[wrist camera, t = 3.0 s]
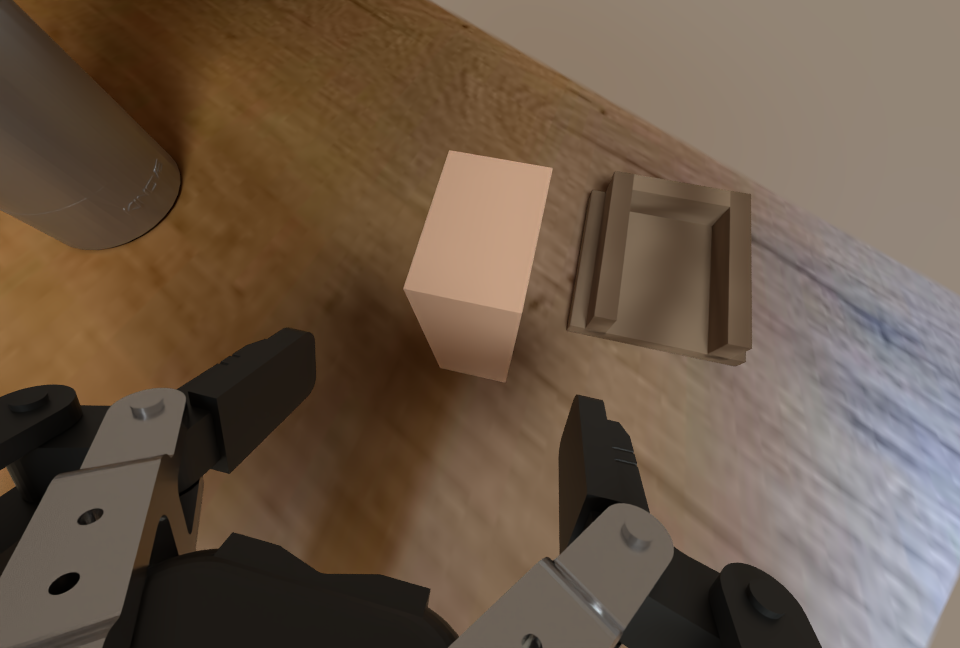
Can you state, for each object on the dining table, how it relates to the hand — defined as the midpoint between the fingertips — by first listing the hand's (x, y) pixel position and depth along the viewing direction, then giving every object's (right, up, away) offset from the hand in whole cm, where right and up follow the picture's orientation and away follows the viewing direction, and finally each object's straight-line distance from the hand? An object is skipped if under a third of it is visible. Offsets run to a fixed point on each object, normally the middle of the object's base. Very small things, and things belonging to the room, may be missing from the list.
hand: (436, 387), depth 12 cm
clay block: (+2, +2, +12) cm, 13 cm away
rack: (+13, +5, +13) cm, 19 cm away
